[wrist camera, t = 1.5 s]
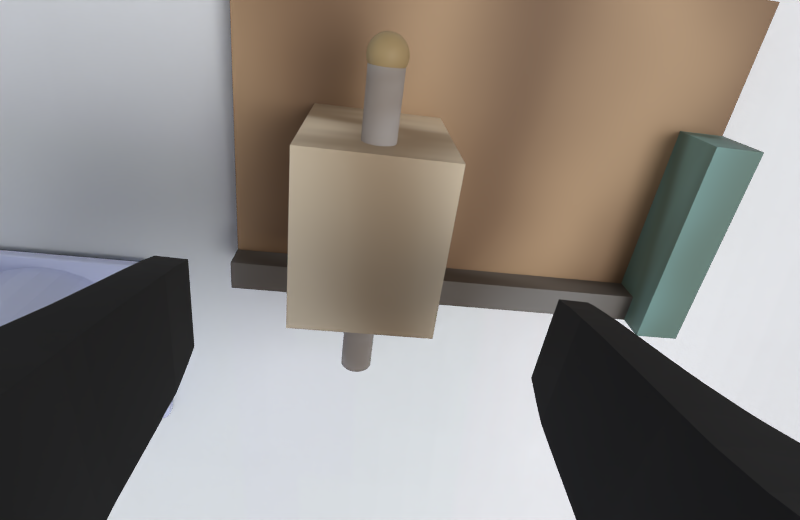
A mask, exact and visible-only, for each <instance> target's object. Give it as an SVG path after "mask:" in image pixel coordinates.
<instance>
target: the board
mask: <svg viewBox="0 0 800 520" xmlns="http://www.w3.org/2000/svg"><path fill="white" fill-rule="evenodd" d="M778 5H779V2H776V1H770V0H230V19H231V50H232V80H233V111H234V141H235V172H236V203H237V233H238V250H237V252H236V254H235V256H234V257H233V259H232V261H231V282H232V288H244V289H256V290H268V291H280V292H287V265H288V215H289V165H290V144H291V142H292V141H293V139H294V137H295V136H296V134H297V132H298V130H299V129H300V127H301V125H302V124H303V122H304V120H305V119H306V117H307V115H308V114H309V112H310V110H311V109H312V107H313V105H314V104H315V103H317V104H326V105H334V106H343V107H351V108H360V109H364V98H365V86H366V75H367V63H368V62H367V58H366V51H367V46H368V44H369V42H370V40H371V39H372V38H373V37H374V36H375V35H376V34H378V33H380V32H383V31H392V32H396V33H398V34H399V35H401V36H402V37H403V38H404V39H405V41H406V42H407V44H408V47H409V51H410V58H409V63H408V65H407V67H406V73H405V82H404V90H403V98H402V106H401V113H402V114H410V115H418V116H427V117H435V118H441V120H442V122H443V124H444V126H445V127H446V129H447V131H448V133H449V135H450V137H451V138H452V140H453V142H454V144H455V146H456V148H457V149H458V151H459V153H460V155H461V157H462V159H463V160H464V162H465V164H466V165H465V170H464V175H463V180H462V186H461V191H460V196H459V201H458V207H457V212H456V217H455V222H454V228H453V233H452V238H451V243H450V249H449V254H448V259H447V264H446V269H445V275H444V280H443V285H442V290H441V296H440V301H439V305H452V306H464V307H476V308H488V309H501V310H513V311H525V312H537V313H550V314H554V312H555V309H556V306H557V303H558V300H559V299H561V300H570V301H579V302H588V303H590V304H592V305H593V306H595V307H597V308H599V309H600V310H602V311H603V312H605V313H606V314H608V315H609V316H611V317H612V318H613V319H623V320H625V321H626V323H627V324H628V325H629V327H630V328H631V329H632V330H633V332H634V333H635V334H636V335H637V336H648V337H661V338H674V339H676V337H677V334H678V332H679V330H680V328H681V326H682V324H683V322H684V320H685V318H686V316H687V313H688V311H689V309H690V307H691V305H692V303H693V301H694V299H695V297H696V294H697V292H698V290H699V288H700V286H701V284H702V282H703V280H704V278H705V276H706V273H707V271H708V269H709V267H710V265H711V263H712V261H713V259H714V257H715V255H716V252H717V250H718V248H719V246H720V244H721V242H722V240H723V238H724V236H725V233H726V231H727V229H728V227H729V225H730V223H731V221H732V219H733V217H734V215H735V212H736V210H737V208H738V206H739V204H740V202H741V200H742V198H743V196H744V194H745V191H746V189H747V187H748V185H749V183H750V181H751V179H752V177H753V175H754V172H755V170H756V168H757V166H758V164H759V162H760V160H761V158H762V156H763V154H764V152H761V151H759V150H756V149H754V148H751V147H749V146H746V145H743V144H741V143H738V142H736V141H733V140H731V139H728V138H726V137H723V136H722V135H723V133H724V131H725V128H726V126H727V124H728V121H729V119H730V117H731V114H732V112H733V110H734V107H735V105H736V103H737V100H738V98H739V96H740V93H741V91H742V89H743V86H744V84H745V82H746V79H747V77H748V75H749V72H750V70H751V68H752V65H753V63H754V61H755V58H756V56H757V54H758V51H759V49H760V47H761V44H762V42H763V40H764V37H765V35H766V33H767V30H768V28H769V26H770V23H771V21H772V19H773V16H774V14H775V12H776V9H777V7H778Z"/></svg>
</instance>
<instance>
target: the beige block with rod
mask: <svg viewBox="0 0 800 520" xmlns="http://www.w3.org/2000/svg"><path fill="white" fill-rule="evenodd" d="M366 58H367V62H368V63H367V75H366V86H365V98H364V109H360V108H351V107H343V106H334V105H326V104H317V103H315V104H314V105H313V107H312V109H311V110H310V112H309V114H308V115H307V117H306V119H305V120H304V122H303V124H302V125H301V127H300V129H299V130H298V132H297V134H296V136H295V137H294V139H293V141H292V142H291V144H290V165H289V215H288V265H287V315H286V328H295V329H309V330H322V331H335V332H344V339H343V350H342V365H343V366H344V367H345V368H346V369H348V370H350V371H355V372H359V371H363V370H366V369H367V368H368V367H369V366H370V361H371V352H372V344H373V336H374V334H375V335H389V336H402V337H415V338H429V339H432V338H433V332H434V327H435V322H436V317H437V311H438V306H439V301H440V296H441V290H442V285H443V280H444V275H445V269H446V264H447V259H448V254H449V249H450V243H451V238H452V233H453V228H454V222H455V217H456V212H457V207H458V201H459V196H460V191H461V186H462V180H463V175H464V170H465V165H466V164H465V162H464V160H463V159H462V157H461V155H460V153H459V151H458V149H457V148H456V146H455V144H454V142H453V140H452V138H451V137H450V135H449V133H448V131H447V129H446V127H445V126H444V124H443V122H442V120H441V118H435V117H427V116H418V115H410V114H402V113H401V106H402V98H403V90H404V82H405V73H406V67H407V65H408V63H409V58H410V51H409V47H408V44H407V42H406V41H405V39H404V38H403V37H402V36H401V35H399V34H398V33H396V32H392V31H383V32H380V33H378V34H376V35H375V36H374V37H373V38H372V39H371V40H370V42H369V44H368V46H367V51H366Z"/></svg>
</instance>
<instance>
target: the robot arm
mask: <svg viewBox="0 0 800 520" xmlns="http://www.w3.org/2000/svg"><path fill="white" fill-rule="evenodd" d="M193 348H194V336H193V323H192V309H191V295H190V281H189V267H188V259H179V258H170V257H161V256H153V257H150V258H147V259H145V260H142V261H140V262H135V261H123V260H112V259H100V258H88V257H76V256H65V255H53V254H41V253H29V252H18V251H6V250H0V520H107V518H108V516H109V514H110V512H111V510H112V508H113V506H114V504H115V502H116V501H117V499H118V497H119V495H120V493H121V492H122V490H123V488H124V486H125V484H126V483H127V481H128V479H129V477H130V476H131V474H132V472H133V470H134V468H135V467H136V465H137V463H138V461H139V459H140V458H141V456H142V454H143V452H144V451H145V449H146V447H147V445H148V443H149V442H150V440H151V438H152V436H153V434H154V433H155V431H156V429H157V427H158V425H159V424H160V422H161V420H162V418H165V417H167V416H168V415H169V414H170V412H171V410H172V407H173V404H172V400H173V398H174V396H175V394H176V392H177V390H178V387H179V385H180V382H181V380H182V377H183V375H184V373H185V370H186V367H187V365H188V362H189V359H190V357H191V354H192V351H193ZM531 378H532V383H533V388H534V393H535V398H536V403H537V407H538V412H539V416H540V420H541V424H542V427H543V430H544V433H545V436H546V438H547V441H548V444H549V447H550V449H551V452H552V455H553V458H554V461H555V463H556V466H557V469H558V471H559V474H560V477H561V479H562V482H563V485H564V488H565V490H566V493H567V496H568V498H569V501H570V504H571V506H572V509H573V512H574V515H575V517H576V520H800V443H799V442H797V441H795V440H794V439H792V438H790V437H789V436H787V435H785V434H783V433H782V432H780V431H778V430H777V429H775V428H773V427H771V426H770V425H768V424H766V423H765V422H763V421H761V420H760V419H758V418H756V417H755V416H753V415H752V414H750V413H748V412H747V411H745V410H744V409H742V408H741V407H739V406H737V405H736V404H734V403H733V402H731V401H730V400H728V399H727V398H725V397H724V396H722V395H721V394H719V393H718V392H716V391H715V390H713V389H712V388H710V387H709V386H707V385H706V384H704V383H703V382H701V381H700V380H699V379H697V378H696V377H694V376H693V375H691V374H690V373H688V372H687V371H686V370H684V369H683V368H681V367H680V366H679V365H677V364H676V363H674V362H673V361H672V360H670V359H669V358H667V357H666V356H665V355H663V354H662V353H660V352H659V351H658V350H656V349H655V348H654V347H652V346H651V345H649V344H648V343H647V342H645V341H644V340H643V339H641V338H640V337H639V336H637V335H636V334H634V333H633V332H632V331H630V330H629V329H628V328H626V327H625V326H623V325H622V324H621V323H619V322H618V321H616V320H615V319H613V318H612V317H611V316H609V315H608V314H606V313H605V312H603V311H602V310H600V309H599V308H597V307H595V306H593V305H592V304H590V303H588V302H579V301H570V300H561V299H559V300H558V303H557V306H556V309H555V312H554V314H553V317H552V320H551V323H550V326H549V329H548V332H547V335H546V337H545V340H544V343H543V346H542V349H541V352H540V355H539V357H538V360H537V363H536V366H535V369H534V372H533V375H532V377H531Z"/></svg>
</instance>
